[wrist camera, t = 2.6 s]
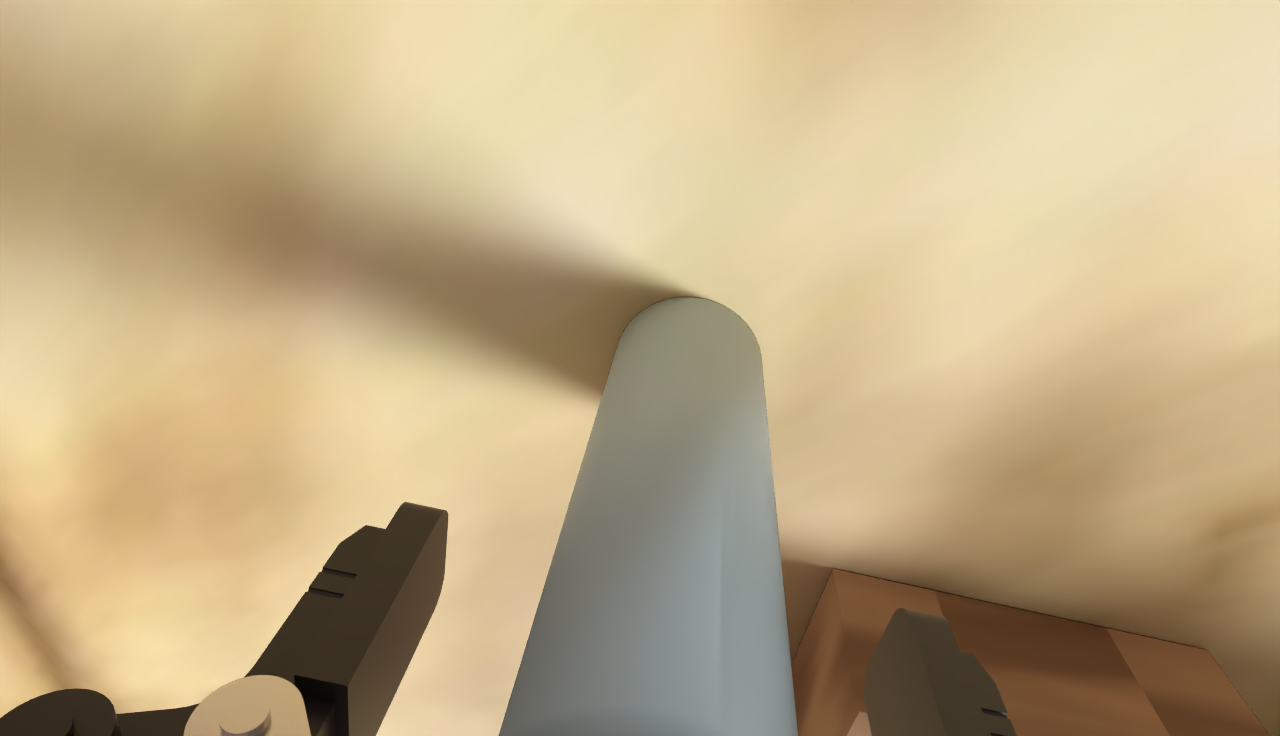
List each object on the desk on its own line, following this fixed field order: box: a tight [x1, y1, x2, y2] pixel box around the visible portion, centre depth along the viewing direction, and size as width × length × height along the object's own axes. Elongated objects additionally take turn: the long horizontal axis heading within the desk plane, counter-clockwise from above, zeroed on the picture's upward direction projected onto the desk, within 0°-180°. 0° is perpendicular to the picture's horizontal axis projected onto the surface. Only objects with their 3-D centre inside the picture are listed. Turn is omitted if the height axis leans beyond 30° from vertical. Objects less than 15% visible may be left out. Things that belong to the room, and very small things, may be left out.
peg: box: [499, 297, 798, 736], centre depth 14 cm, size 4×4×12 cm
